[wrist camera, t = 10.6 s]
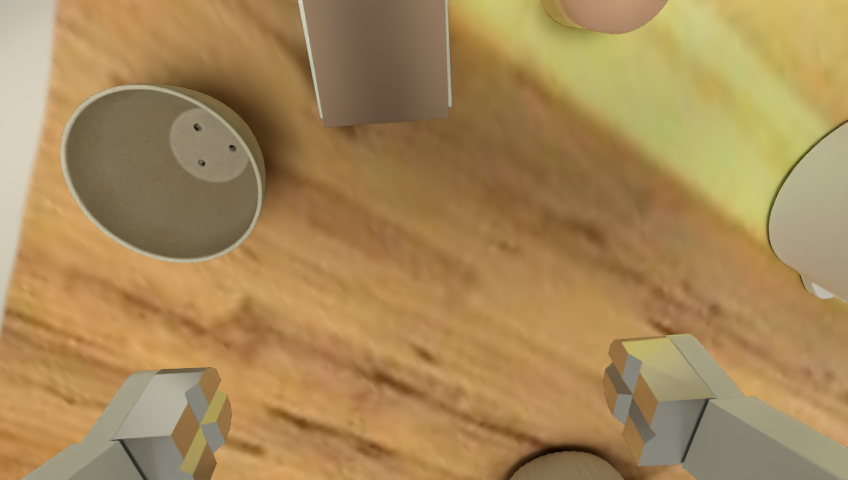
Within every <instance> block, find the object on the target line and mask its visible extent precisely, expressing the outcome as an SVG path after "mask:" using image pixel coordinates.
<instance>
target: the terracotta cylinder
mask: <svg viewBox="0 0 848 480" xmlns="http://www.w3.org/2000/svg"><path fill="white" fill-rule="evenodd" d="M540 1H541V3H542V6H543V8H544V10H545V11H546V13H547V14H548V15H549V16H550V17H551V18H552V19H553V20H555V21H556V22H558V23H560V24H563V25H566V26H571V27H577V28H582V29H587V30H593V31H598V32H604V33H610V34H621V33H627V32H630V31H633V30H635V29H638V28H640V27H641V26H643V25H645V24H646V23H647V22H649V21H650V20H651V19H653V18H654V17H655V16H656V15H657V14H658V13H659V12H660V10H661V9H662V8H663V7H664V5H665V4H666V3H667V1H668V0H540Z"/></svg>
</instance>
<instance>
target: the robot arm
mask: <svg viewBox="0 0 848 480" xmlns="http://www.w3.org/2000/svg"><path fill="white" fill-rule="evenodd" d="M769 238H770V243H771V246H772V248H773V250H774V252H775V254H776V255H777V257H778V258H779V259H780V260H781V261H782V262H783V263H785V264H786V265H788V266H789V267H791V268H792V269H794V270H796V271H797V272H798V273H799V274H800V275H801V278H802V281H803V284H804V286H805V288H806V290H807V291H808V292H809V293H811V294H813V295H815V296H816V297H818V298H821V299H828V298H833V297H837V298H839V299H841V300H843V301H844V302H846V303H848V122H847V123H845V124H844V125H842V126H841V127H839V128H838V129H836V130H835V131H833V132H832V133H831V134H829V135H828V136H827V137H825V138H824V139H823V140H822V141H821V142H819V143H818V144H817V145H816V146H815V147H814V148H813V149H812V150H811V151H810V152H809V153H808V154H807V155H806V156H805V157H804V158H803V159H802V160H801V161H800V162H799V163H798V165H797V166H796V167H795V168H794V170H793V171H792V172H791V174H790V175H789V177H788V178H787V179H786V181H785V183H784V184H783V186H782V188H781V190H780V191H779V193H778V196H777V198H776V200H775V203H774V205H773V208H772V212H771V216H770V221H769ZM609 356H610V357H611V359H612V361H613V363H612V364H610V365H609V366H608V367H607V368H606V369H605V373H604V379H603V385H604V395H605V398H606V401H607V404H608V407H609V409H610V411H611V413H612V415H613V416H614V417H615V418H617V419H618V420H619V421H621V422H622V423H623V424H625V427H624V431H623V437H624V439H625V441H626V443H627V445H628V447H629V449H630V451H631V453H632V455H633V457H634V459H635V461H636V463H637V465H638V466H653V465H677V464H683V466H682V467H683V468H684V469H686V470H687V471H688V472H689V473H690V474H691V475H692V476H694V477H695V478H696V479H697V480H848V448H847V447H845V446H843V445H842V444H840V443H838V442H836V441H834V440H833V439H831V438H829V437H827V436H825V435H823V434H822V433H820V432H818V431H816V430H814V429H812V428H811V427H809V426H807V425H805V424H803V423H801V422H800V421H798V420H796V419H794V418H792V417H790V416H789V415H787V414H785V413H783V412H781V411H779V410H778V409H776V408H774V407H772V406H770V405H769V404H767V403H765V402H763V401H761V400H759V399H758V398H756V397H746V396H745V395H744V394H743V393H742V392H741V390H740V389H739V388H738V387H737V386H736V385H735V383H734V382H733V381H732V380H731V379H730V378H729V376H728V375H727V374H726V373H725V372H724V371H723V369H722V368H721V367H720V366H719V365H718V363H717V362H716V361H715V360H714V359H713V358H712V356H711V355H710V354H709V353H708V352H707V351H706V349H705V348H704V347H703V346H702V345H701V343H700V342H699V341H698V340H697V339H696V338H695V337H694V336H692V335H690V334H679V335H667V336H655V337H642V338H629V339H616V340H614V341H613V342H612V344H611V345H610V350H609ZM220 382H221V379H220V376H219V374H218V372H217V370H216V369H215V368H211V367H206V368H183V369H162V370H148V371H136V372H135V373H133V374H131V375H130V376H129V377H128V378H127V379H126V381H125V382H124V384H123V385H122V386H121V388H120V389H119V390H118V392H117V393H116V395H115V396H114V397H113V399H112V400H111V402H110V403H109V404H108V406H107V407H106V409H105V410H104V411H103V413H102V414H101V416H100V417H99V418H98V420H97V421H96V423H95V424H94V425H93V427H92V428H91V429H90V431H89V432H88V434H87V435H86V436H85V438H84V439H83V441H82V442H81V443H75V444H71V445H70V446H68V447H67V448H66V449H64V450H63V451H61V452H60V453H58V454H57V455H55V456H54V457H53V458H51V459H50V460H48V461H47V462H45V463H44V464H42V465H41V466H40V467H38V468H37V469H35V470H34V471H32V472H31V473H29V474H28V475H27V476H25V477H24V478H22V479H21V480H210V479H211V477H212V474H213V472H214V469H215V467H216V464H217V463H216V460H215V457H214V455H213V453H214V452H215V451H216V450H217V449H218V448H220V447H221V446H222V445H223V444H224V443H225V441H226V438H227V436H228V433H229V430H230V425H231V417H232V412H231V404H230V401H229V398H228V396H227V395H226V394H225V393H223V392H222V391H220V390H219V389H217V388H218V386H219V384H220Z"/></svg>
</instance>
